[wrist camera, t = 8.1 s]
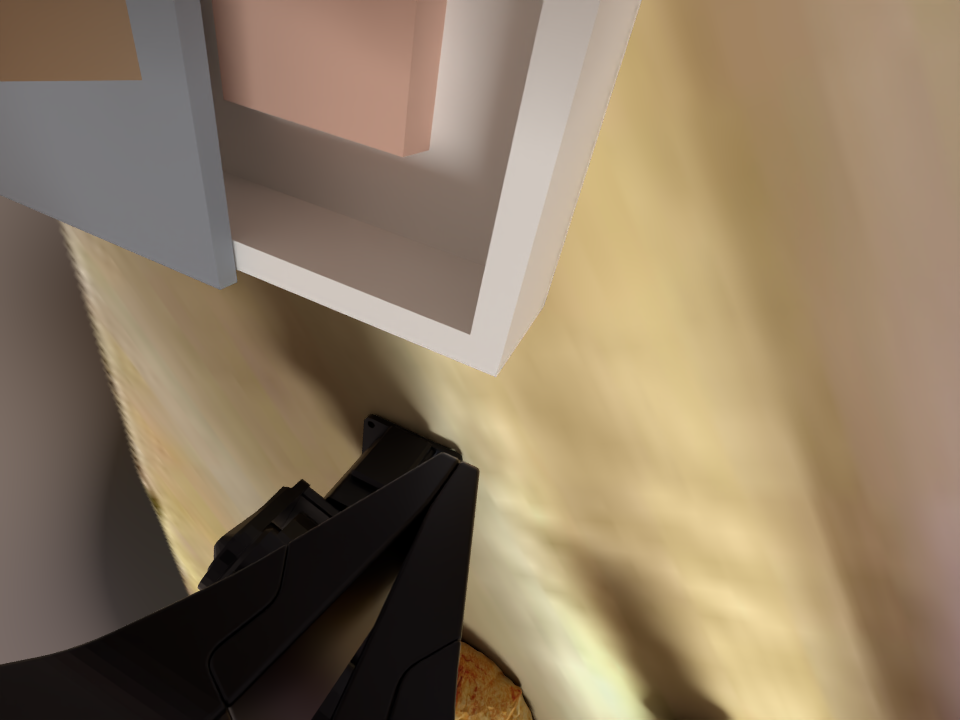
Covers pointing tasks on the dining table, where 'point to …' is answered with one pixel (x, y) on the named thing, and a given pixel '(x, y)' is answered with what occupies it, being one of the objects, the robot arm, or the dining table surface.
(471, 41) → the lidded box
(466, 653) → the croissant
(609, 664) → the dining table surface
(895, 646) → the dining table surface
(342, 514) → the robot arm
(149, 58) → the lid
